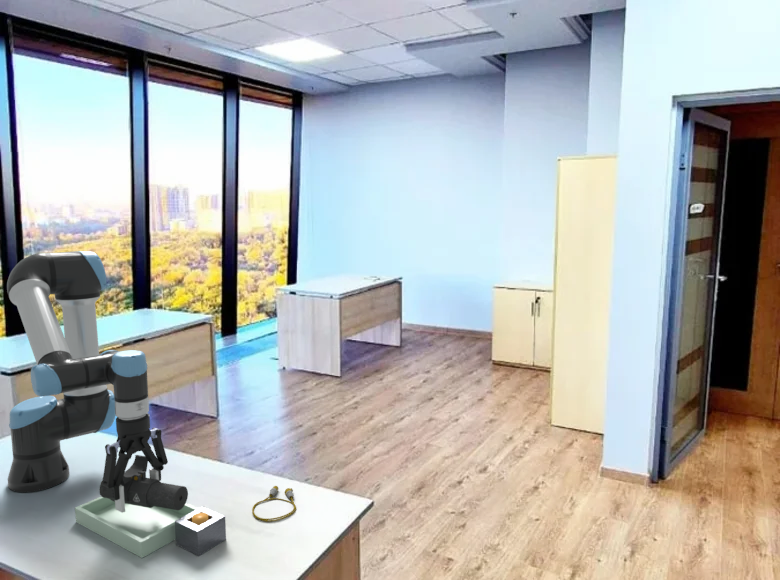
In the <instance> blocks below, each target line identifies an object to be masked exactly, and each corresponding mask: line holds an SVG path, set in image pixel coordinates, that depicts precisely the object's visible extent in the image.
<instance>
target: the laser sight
mask: <svg viewBox="0 0 780 580" xmlns="http://www.w3.org/2000/svg"><path fill="white" fill-rule="evenodd" d="M148 463H149V461H148V460H147V458H146V457H145V455H140V454H135V455H134V460H133V463H132V464H131V466H130V467H129V468H128V469H126V470H125V472H124V475H123V478H122V481H121V484H120V485H122V486H123V487H124V502H125V504H131V505H137V506H142V507H148V508H152V507H154V506H156V507H162V508H167V509H173V510H181V509H182V508H183V507H184V505H185V504H186V503H187V502H188V497H189V493H188V489H187V487H186V486H183V485H177V484H172V483H164V482H161V481H159V480H157V479H151V478H150V477H147V469H148ZM102 482H103V479H102V481H101V482H100V485H99V491H98V492H99V495H100V497H101V496H102V497H103V498H108V499H110V500H112V501H114V502H115V500H114V499H112V493H111V488H108V487H105V486H103V485H102Z"/></svg>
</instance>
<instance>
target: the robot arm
mask: <svg viewBox="0 0 780 580" xmlns="http://www.w3.org/2000/svg"><path fill="white" fill-rule="evenodd" d="M107 282H108V281H107V273H106V270H105V266H104V264H103V261H102V259H101V258H100V256H99V255H98V254H97V253H95V251H89V250H88V251H86V250H85V251H84V250H83V251H82V250H77V251H76V250H75V251H73V250H72V251H63V252H61V251H60V252H47V253H45V252H38V253H35V254H34V253H33V254H30V255H28V256H26V257H25V258H24V257H23V259H21V260H20V261H19V262H18V263H17V264H15V266H14V267H13V268H12V270H11V271H10V273H9V276H8V279H7V282H6V290H7V291H6V292H7V295H8V298H9V300H10V302H11V303H12V304H13V305H14V306H16V307H17V311H18V313H19V314H18V315H19V316H20V319H21V322H22V325H23V327H24V331H25V334H26V336H27V339H28V342H29V345H30V348H31V351H32V354H33V357H34V361H35V362H36V365H33V366H32V367H31V370H30V383H31V386H32V390H33V392H34V394H35V397H31V398H28V399H25V400H23V401H21V402H19V403H17V404H16V405H15V406H13V407H12V408H11V410H10V412H9V423H8V426H9V428H10V437H11V448H12V462H11V465H10V470H9V473H8V477H7V486H8V487H7V488H8V489H9V490H11V491H13V492H17V493H32V492H39V491H44V490H47V489H51V488H53V487H56V486H58V485H59V484H61V483H63V482H65V481H66V480H67V479H69V476H70V467H69V464H68V462H67V460H66V458H65V456H64V454H63V452H62V450H61V441H64V440H68V439H69V440H70V439H73V438H77V437H81V436H86V435H89V434H97V433H98V432H101V431H105V430H108V429H109V428H111V427H112V426H113V424H114V421H115V426H116V427H115V428H116V433H117V438H116V442H114V443H111V444H110V443H108V444H106V445H105V446H104V449H105V450H104V451H105V453H106V454H105V460H104V468H103V469H104V470H103V475H102V476H103V477H102V480H103V482H102V481H101V482H102V485H103V486H105V487H108V488H111V493H112V499H114V500H115V508H116V510H118V511H120V512H122V513H123V512H125V502H124V487H123V486H122V485H120V484H121V481H122V478H123V475H124V472H125V471H127V467H128V464H129V460H130V459H132V456H133V455H134V454H136V453H137V452H142V454H143V456H145V457H146V458H147V460H148V463H149V465H150V466H151V467H152V468H149V470H148V473H149V478H151V479H157V480H159V481H160V482H161V481H162V471H163V470H164V469H165V467H164V465H167V464H168V463H169V462H168V461H169V460H168V458H167V454H166V450H165V447H164V444H163V440H162V430H161V429H159V428H157V427H152V429H150V428H151V419H150V403H149V384H148V363H147V358H146V357H147V356H146V354H145V353H144V351H142V350H135V349H128V350H122V351H118V350H116V349H108V350H105V351H103V352H101V353H100V351H99V350H100V349H99V348H100V347H99V338H98V337H99V336H98V325H97V311H96V310H97V309H96V302H97V301H98V300H99V299H100V298H101V291H104V290H105V289H106V287H107ZM50 295H54V300H55V301H56V302H57V303H59V304H60V305H61V309H62V322H63V330H62V328H61V325H60V323H59V320H58V317H57V314H56V312H55V309H54V307H53V304H52V302H51V300H50ZM108 385H113V390H110V389H108ZM60 394H63V398H60V399H57V397H55V396H56V395H57V396H58V395H60ZM54 395H55V396H54ZM150 438H151V442H152V446H153V450H154V451H153V450H152V447H151V445H150V444H149V440H150ZM117 457H118V458H117Z"/></svg>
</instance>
